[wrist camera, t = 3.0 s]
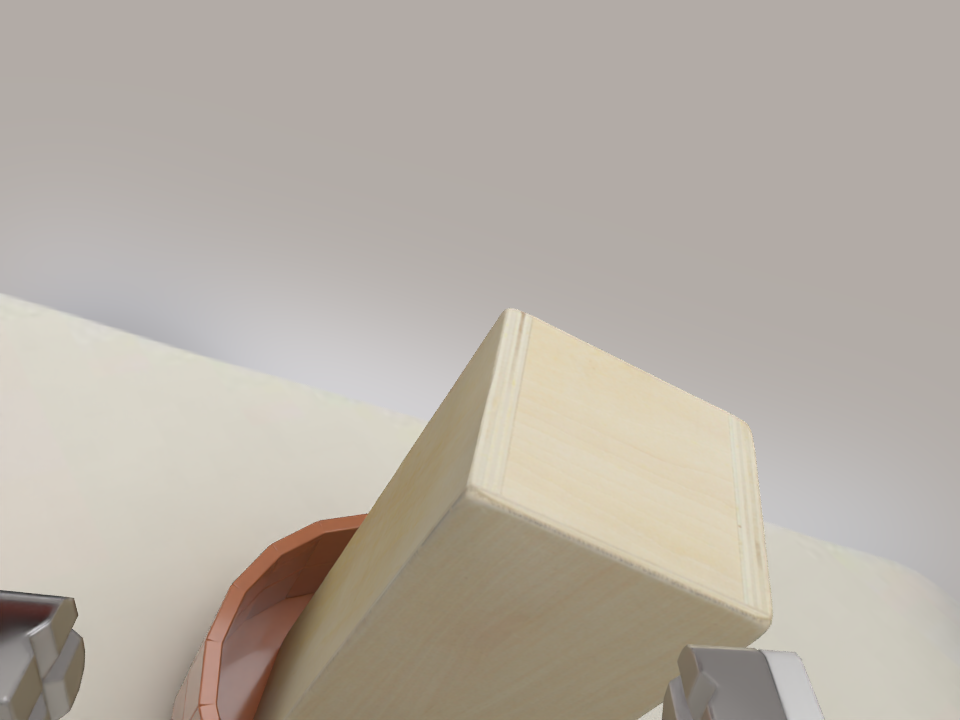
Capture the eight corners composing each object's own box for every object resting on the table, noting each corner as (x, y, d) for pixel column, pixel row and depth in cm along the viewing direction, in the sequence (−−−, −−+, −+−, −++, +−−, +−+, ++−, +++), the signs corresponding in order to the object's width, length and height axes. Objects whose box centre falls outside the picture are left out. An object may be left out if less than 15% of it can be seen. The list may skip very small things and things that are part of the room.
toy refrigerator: (456, 689, 38) (755, 404, 24) (420, 871, 33) (780, 635, 19) (288, 623, 37) (505, 281, 23) (221, 801, 31) (454, 493, 18)
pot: (79, 777, 30) (102, 714, 26) (316, 526, 41) (357, 454, 37) (393, 1047, 29) (466, 1023, 25) (552, 716, 39) (621, 664, 36)
